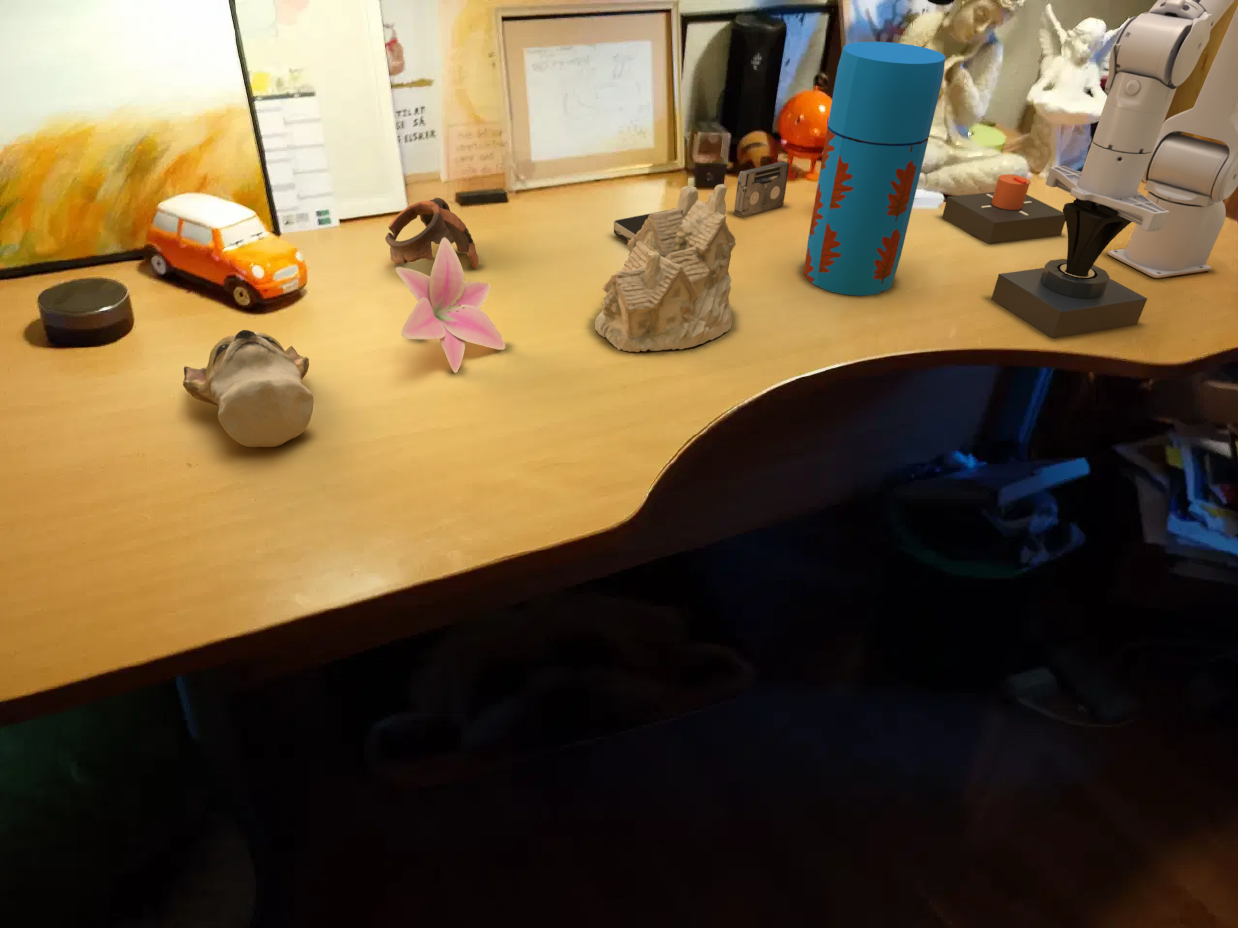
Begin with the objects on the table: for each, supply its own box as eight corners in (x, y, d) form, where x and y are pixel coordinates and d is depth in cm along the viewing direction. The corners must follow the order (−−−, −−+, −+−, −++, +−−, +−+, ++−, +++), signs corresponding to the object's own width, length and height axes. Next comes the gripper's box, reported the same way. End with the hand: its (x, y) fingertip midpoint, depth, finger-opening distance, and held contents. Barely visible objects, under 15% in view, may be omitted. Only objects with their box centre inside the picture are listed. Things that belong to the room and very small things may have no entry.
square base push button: (1071, 287, 109) (1086, 248, 106) (1136, 324, 101) (1154, 283, 98) (990, 299, 105) (1003, 258, 102) (1051, 338, 97) (1067, 296, 94)
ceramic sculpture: (187, 379, 66) (160, 308, 77) (213, 478, 71) (184, 398, 82) (332, 350, 71) (287, 287, 82) (348, 444, 76) (303, 373, 87)
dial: (985, 201, 123) (992, 173, 121) (1008, 198, 125) (1016, 171, 122) (1004, 211, 120) (1013, 183, 118) (1028, 208, 122) (1037, 180, 119)
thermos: (887, 262, 112) (937, 45, 98) (900, 299, 104) (957, 67, 89) (799, 255, 113) (835, 38, 98) (805, 292, 104) (846, 60, 90)
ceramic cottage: (688, 273, 107) (694, 146, 97) (756, 340, 95) (771, 204, 86) (564, 298, 102) (557, 168, 93) (619, 372, 90) (618, 232, 81)
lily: (386, 393, 85) (422, 324, 79) (353, 301, 90) (385, 229, 84) (496, 395, 92) (537, 332, 86) (460, 310, 97) (497, 244, 91)
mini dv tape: (775, 203, 128) (781, 160, 125) (783, 206, 127) (789, 163, 124) (733, 214, 124) (739, 170, 121) (741, 217, 123) (747, 173, 120)
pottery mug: (485, 283, 104) (446, 229, 98) (414, 312, 106) (372, 262, 100) (484, 219, 111) (449, 166, 105) (418, 248, 114) (380, 198, 108)
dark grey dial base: (1010, 210, 130) (1017, 188, 128) (1060, 236, 122) (1068, 213, 121) (941, 217, 126) (947, 195, 124) (988, 244, 119) (995, 221, 117)
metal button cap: (1073, 276, 103) (1078, 262, 102) (1096, 289, 100) (1102, 275, 99) (1048, 280, 102) (1053, 265, 101) (1071, 293, 99) (1076, 278, 98)
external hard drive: (611, 236, 116) (612, 220, 115) (681, 221, 121) (682, 207, 120) (641, 255, 111) (642, 239, 110) (713, 239, 116) (714, 224, 115)
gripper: (1041, 127, 96) (1004, 249, 104) (1148, 170, 85) (1098, 302, 93) (1092, 124, 98) (1052, 243, 106) (1204, 165, 88) (1150, 294, 95)
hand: (1077, 270), depth 100 cm, fingers closed, pressing on metal button cap
